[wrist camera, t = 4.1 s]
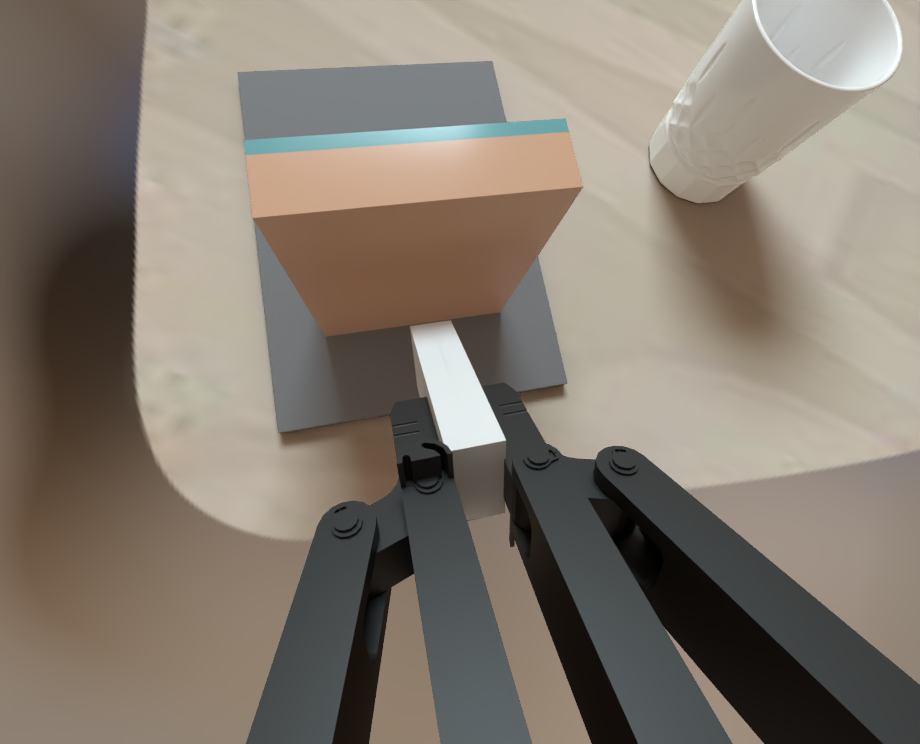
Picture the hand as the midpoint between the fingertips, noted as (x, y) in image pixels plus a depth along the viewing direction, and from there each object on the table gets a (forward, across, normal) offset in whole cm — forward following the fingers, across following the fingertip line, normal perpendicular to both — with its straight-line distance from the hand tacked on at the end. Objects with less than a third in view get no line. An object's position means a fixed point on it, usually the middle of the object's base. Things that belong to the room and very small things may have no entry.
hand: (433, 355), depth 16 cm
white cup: (+15, +21, +3) cm, 26 cm away
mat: (+13, 0, +1) cm, 13 cm away
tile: (+9, 0, -2) cm, 9 cm away
